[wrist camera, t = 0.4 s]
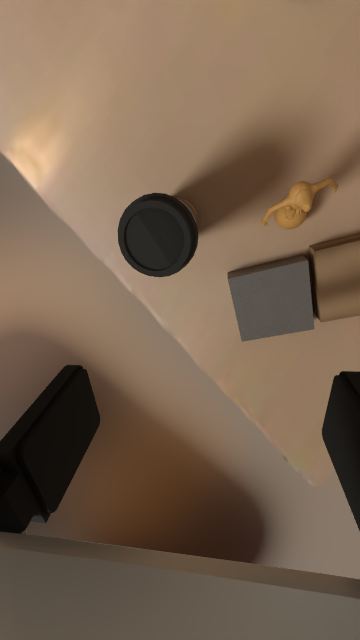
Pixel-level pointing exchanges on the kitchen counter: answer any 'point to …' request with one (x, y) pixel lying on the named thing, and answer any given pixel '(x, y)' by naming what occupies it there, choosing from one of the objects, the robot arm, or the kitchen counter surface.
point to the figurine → (297, 204)
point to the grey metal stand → (272, 298)
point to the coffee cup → (158, 234)
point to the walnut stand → (336, 278)
